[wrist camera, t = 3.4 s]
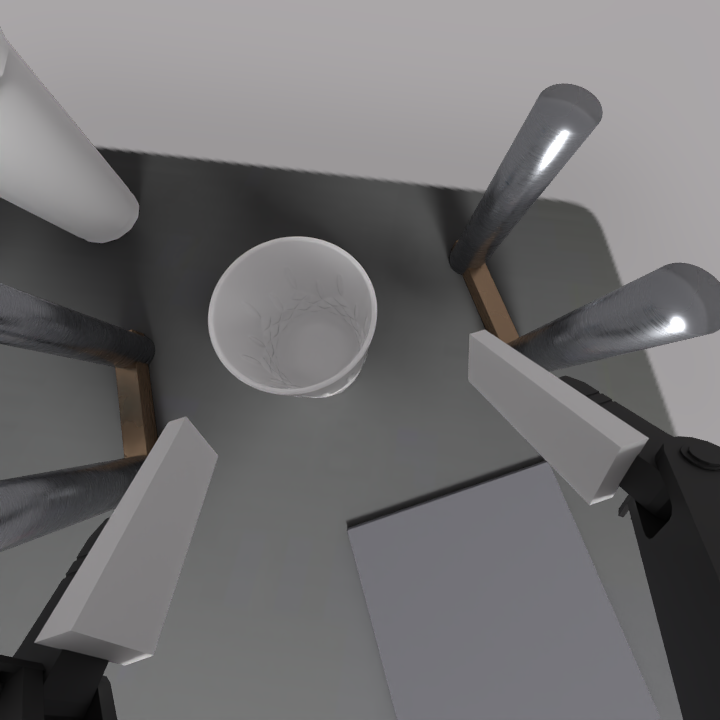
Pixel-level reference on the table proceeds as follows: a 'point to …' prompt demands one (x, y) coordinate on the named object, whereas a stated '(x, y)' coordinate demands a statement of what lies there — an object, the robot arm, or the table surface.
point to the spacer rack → (476, 244)
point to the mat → (495, 609)
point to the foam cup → (55, 160)
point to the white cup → (294, 317)
